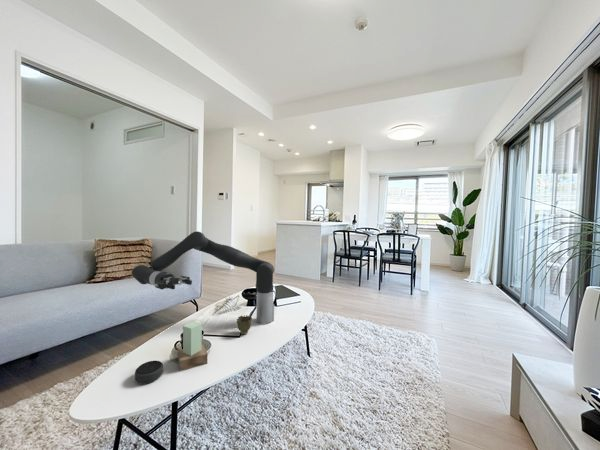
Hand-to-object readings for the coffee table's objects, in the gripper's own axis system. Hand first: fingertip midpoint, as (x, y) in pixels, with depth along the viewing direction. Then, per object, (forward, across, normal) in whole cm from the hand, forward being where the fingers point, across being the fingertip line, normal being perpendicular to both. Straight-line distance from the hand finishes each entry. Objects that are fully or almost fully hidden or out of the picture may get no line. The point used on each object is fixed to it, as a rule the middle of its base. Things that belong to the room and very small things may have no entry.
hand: (183, 284), depth 111 cm
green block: (+14, -6, +24) cm, 29 cm away
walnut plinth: (+14, -6, +28) cm, 32 cm away
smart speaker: (+9, -20, +28) cm, 36 cm away
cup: (+17, +23, +28) cm, 40 cm away
